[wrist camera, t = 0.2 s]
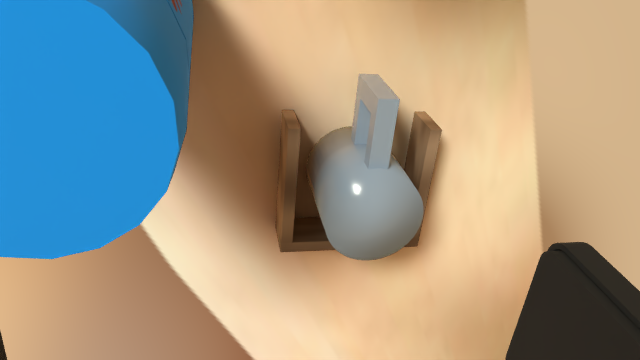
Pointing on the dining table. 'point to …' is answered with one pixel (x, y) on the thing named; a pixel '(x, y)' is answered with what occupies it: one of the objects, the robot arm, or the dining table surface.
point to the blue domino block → (88, 118)
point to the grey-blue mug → (365, 179)
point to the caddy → (311, 230)
